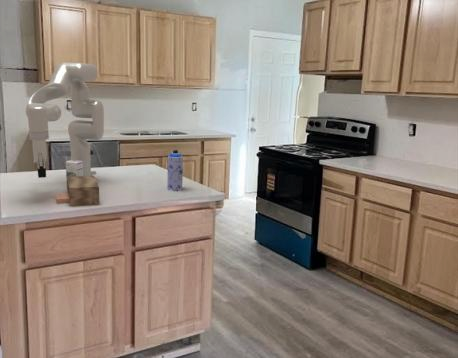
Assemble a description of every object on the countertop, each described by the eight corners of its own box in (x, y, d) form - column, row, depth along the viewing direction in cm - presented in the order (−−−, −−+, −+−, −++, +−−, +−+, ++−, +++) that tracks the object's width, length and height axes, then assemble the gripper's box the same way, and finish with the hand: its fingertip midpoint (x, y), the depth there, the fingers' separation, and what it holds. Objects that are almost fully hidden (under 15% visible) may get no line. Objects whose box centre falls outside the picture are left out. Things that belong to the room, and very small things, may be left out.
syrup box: (84, 189, 216) (83, 160, 213) (76, 192, 210) (75, 162, 207) (74, 188, 218) (73, 159, 214) (66, 191, 212) (65, 161, 209)
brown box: (70, 206, 188) (69, 188, 186) (67, 193, 208) (67, 176, 206) (99, 204, 193) (98, 186, 191) (94, 192, 212) (93, 175, 211)
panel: (57, 204, 191) (56, 199, 191) (56, 198, 200) (56, 193, 200) (91, 202, 196) (90, 197, 196) (88, 197, 205) (88, 192, 205)
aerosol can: (179, 191, 220) (180, 151, 216) (164, 190, 222) (165, 150, 217) (184, 188, 228) (185, 149, 223) (170, 186, 229) (170, 148, 225)
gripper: (29, 132, 193) (33, 173, 198) (28, 138, 180) (32, 182, 185) (48, 132, 196) (51, 172, 201) (48, 138, 182) (51, 181, 187)
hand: (42, 176), depth 193 cm, fingers closed
